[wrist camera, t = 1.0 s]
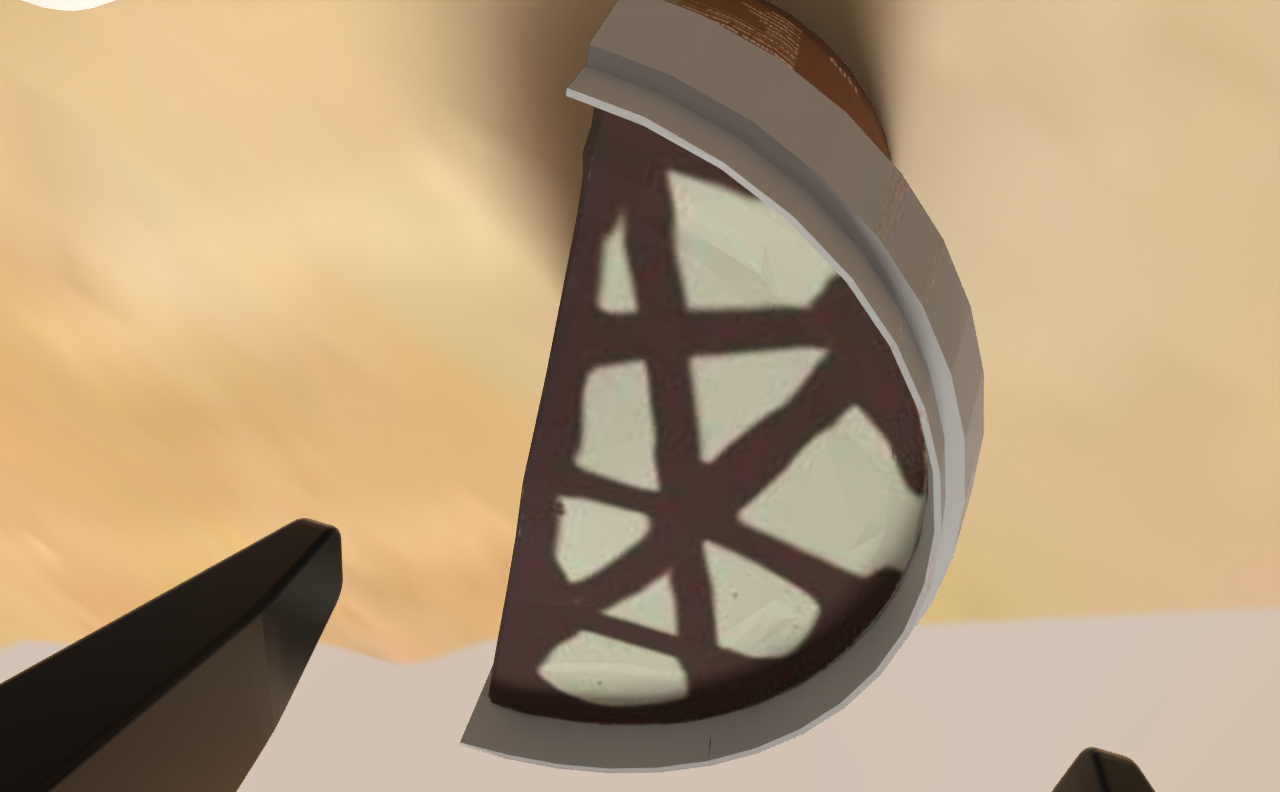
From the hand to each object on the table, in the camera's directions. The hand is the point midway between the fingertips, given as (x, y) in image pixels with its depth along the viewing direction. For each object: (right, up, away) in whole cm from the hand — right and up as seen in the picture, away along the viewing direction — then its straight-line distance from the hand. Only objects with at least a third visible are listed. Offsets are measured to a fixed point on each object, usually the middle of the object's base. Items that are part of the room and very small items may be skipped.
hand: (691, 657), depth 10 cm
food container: (+3, +6, +11) cm, 13 cm away
